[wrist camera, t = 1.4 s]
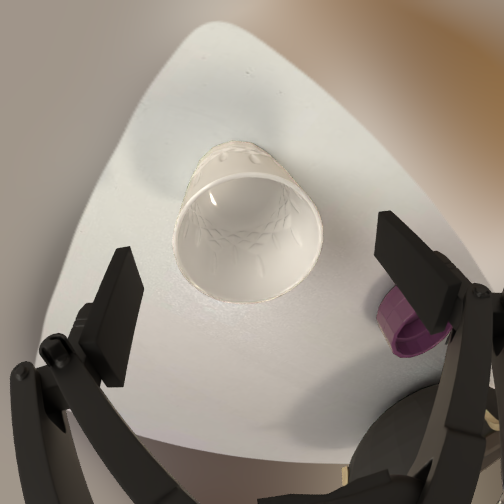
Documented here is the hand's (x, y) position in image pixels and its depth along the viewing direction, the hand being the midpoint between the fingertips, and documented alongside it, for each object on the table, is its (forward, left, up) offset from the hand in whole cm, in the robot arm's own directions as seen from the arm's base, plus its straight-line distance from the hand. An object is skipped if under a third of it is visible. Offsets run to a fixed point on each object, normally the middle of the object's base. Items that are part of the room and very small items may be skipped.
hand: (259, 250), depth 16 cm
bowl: (+45, +27, -11) cm, 54 cm away
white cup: (0, 0, -11) cm, 11 cm away
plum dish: (+17, +18, -10) cm, 27 cm away
